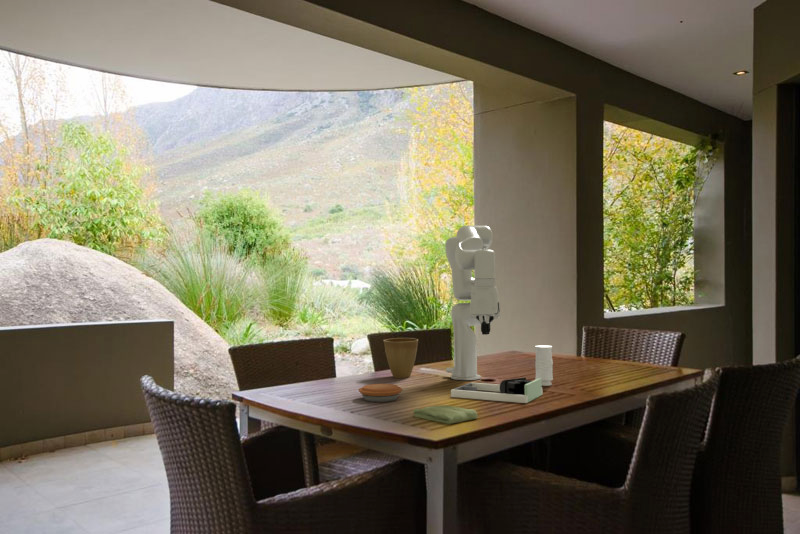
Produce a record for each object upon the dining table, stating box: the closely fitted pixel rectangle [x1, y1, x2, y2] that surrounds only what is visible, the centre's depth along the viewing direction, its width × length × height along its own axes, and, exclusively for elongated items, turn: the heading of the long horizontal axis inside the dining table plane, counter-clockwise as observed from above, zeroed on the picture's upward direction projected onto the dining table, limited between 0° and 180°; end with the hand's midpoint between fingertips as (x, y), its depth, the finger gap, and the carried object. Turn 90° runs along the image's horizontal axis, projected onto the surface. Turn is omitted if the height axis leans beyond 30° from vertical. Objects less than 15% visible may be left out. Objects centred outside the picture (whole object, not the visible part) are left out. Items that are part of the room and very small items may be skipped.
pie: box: [358, 383, 403, 403], centre depth 239 cm, size 15×16×5 cm
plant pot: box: [383, 337, 419, 379], centre depth 290 cm, size 15×15×16 cm
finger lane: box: [450, 378, 544, 404], centre depth 242 cm, size 28×18×6 cm, turn 61°
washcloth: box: [412, 404, 478, 425], centre depth 207 cm, size 13×18×3 cm
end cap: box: [499, 377, 533, 395], centre depth 238 cm, size 10×7×7 cm
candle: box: [534, 344, 554, 387], centre depth 265 cm, size 7×7×15 cm
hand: (485, 334), depth 244 cm, fingers closed
